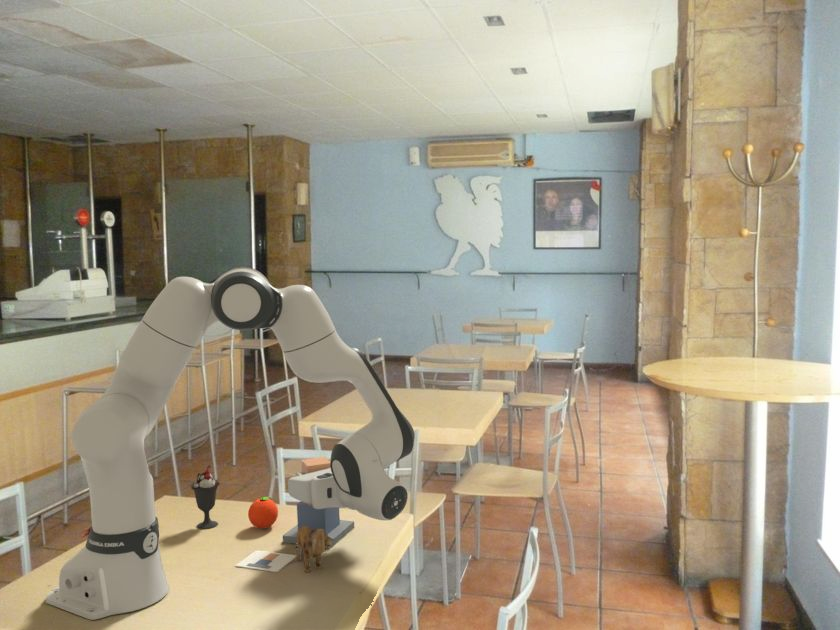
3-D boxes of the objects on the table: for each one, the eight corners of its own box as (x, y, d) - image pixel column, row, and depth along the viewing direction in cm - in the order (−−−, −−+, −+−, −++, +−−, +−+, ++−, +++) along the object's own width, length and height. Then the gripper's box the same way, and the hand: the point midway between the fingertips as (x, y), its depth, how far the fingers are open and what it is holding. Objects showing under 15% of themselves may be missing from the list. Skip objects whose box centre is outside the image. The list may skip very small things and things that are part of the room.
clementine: (260, 519, 173) (258, 491, 173) (285, 521, 172) (284, 492, 171) (243, 531, 166) (241, 502, 165) (270, 534, 164) (268, 504, 163)
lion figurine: (336, 572, 143) (335, 529, 142) (312, 580, 140) (310, 535, 139) (306, 547, 155) (305, 507, 154) (283, 553, 152) (281, 512, 151)
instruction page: (235, 566, 147) (235, 565, 147) (256, 551, 154) (256, 549, 154) (277, 572, 143) (277, 570, 143) (297, 556, 151) (297, 554, 151)
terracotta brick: (308, 505, 158) (307, 466, 158) (302, 498, 163) (301, 459, 163) (333, 501, 160) (331, 462, 160) (326, 494, 166) (325, 456, 165)
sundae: (217, 530, 167) (214, 467, 166) (189, 530, 167) (185, 468, 166) (225, 519, 174) (222, 459, 173) (198, 520, 174) (194, 460, 173)
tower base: (282, 541, 159) (281, 507, 158) (308, 522, 170) (307, 490, 170) (331, 547, 155) (329, 512, 154) (354, 527, 166) (353, 494, 166)
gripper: (387, 460, 158) (351, 449, 169) (308, 481, 145) (274, 467, 155) (388, 488, 159) (352, 475, 169) (309, 511, 145) (276, 495, 156)
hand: (314, 471), depth 162 cm, fingers open, 7 cm apart
